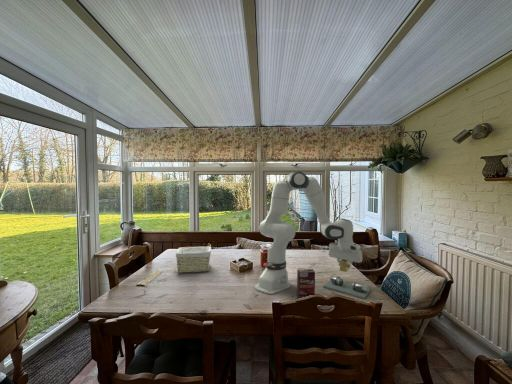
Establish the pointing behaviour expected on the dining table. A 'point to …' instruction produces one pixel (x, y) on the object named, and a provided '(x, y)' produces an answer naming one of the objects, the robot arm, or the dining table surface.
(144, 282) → the newspaper
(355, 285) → the shaft
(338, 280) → the shaft
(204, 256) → the storage basket
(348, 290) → the bench plate
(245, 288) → the dining table surface
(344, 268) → the coupler
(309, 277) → the supplement box
